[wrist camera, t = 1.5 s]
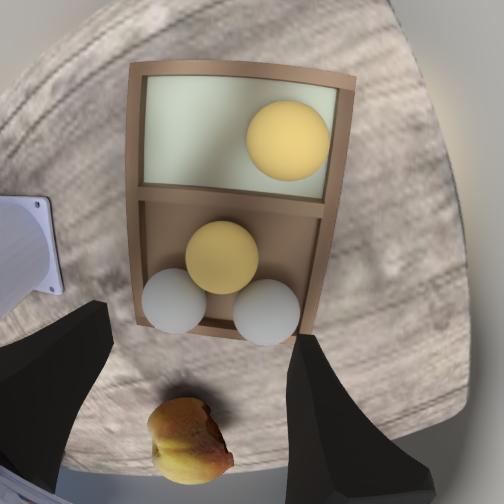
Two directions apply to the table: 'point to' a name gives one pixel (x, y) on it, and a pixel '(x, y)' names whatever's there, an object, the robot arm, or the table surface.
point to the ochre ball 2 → (288, 140)
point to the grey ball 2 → (266, 312)
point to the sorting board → (229, 175)
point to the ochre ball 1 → (221, 257)
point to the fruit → (187, 442)
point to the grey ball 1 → (173, 301)
